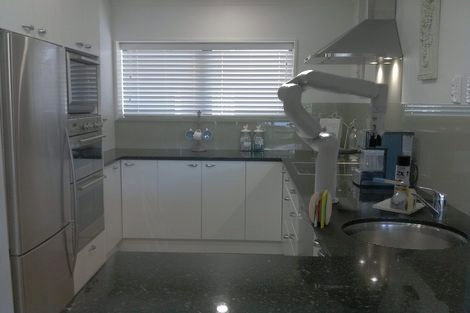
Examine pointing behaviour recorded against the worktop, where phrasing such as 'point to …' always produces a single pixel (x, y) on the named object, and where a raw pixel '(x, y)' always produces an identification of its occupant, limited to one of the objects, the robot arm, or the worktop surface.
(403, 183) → the lever
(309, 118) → the robot arm
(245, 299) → the worktop surface
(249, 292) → the worktop surface
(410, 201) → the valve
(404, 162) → the spray can
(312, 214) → the hamburger
